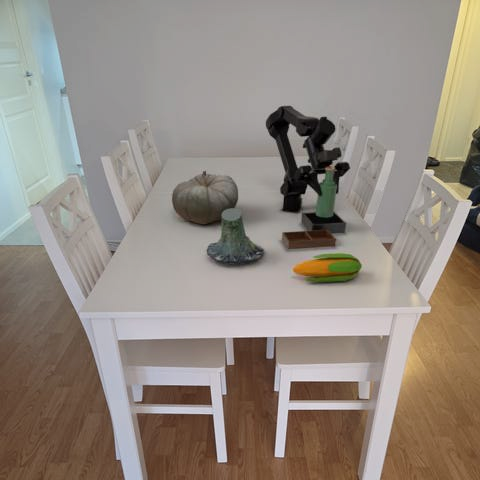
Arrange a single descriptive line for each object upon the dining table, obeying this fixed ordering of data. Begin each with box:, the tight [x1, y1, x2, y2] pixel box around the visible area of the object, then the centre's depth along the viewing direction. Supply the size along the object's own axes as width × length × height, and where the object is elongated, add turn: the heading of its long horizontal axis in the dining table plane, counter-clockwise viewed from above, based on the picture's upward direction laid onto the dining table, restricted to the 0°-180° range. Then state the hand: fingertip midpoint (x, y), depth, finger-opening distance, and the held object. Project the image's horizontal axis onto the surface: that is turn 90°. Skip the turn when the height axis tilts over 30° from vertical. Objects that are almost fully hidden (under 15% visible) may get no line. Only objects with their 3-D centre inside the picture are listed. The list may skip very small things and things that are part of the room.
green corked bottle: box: [315, 165, 337, 218], centre depth 152 cm, size 6×6×16 cm
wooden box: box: [281, 230, 337, 250], centre depth 150 cm, size 8×16×3 cm, turn 100°
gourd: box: [171, 170, 239, 225], centre depth 166 cm, size 25×25×17 cm
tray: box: [300, 211, 347, 235], centre depth 161 cm, size 12×12×4 cm
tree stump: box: [206, 207, 265, 266], centre depth 139 cm, size 18×20×18 cm
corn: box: [292, 252, 363, 283], centre depth 128 cm, size 7×8×20 cm
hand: (329, 194), depth 152 cm, fingers closed on green corked bottle, 6 cm apart
